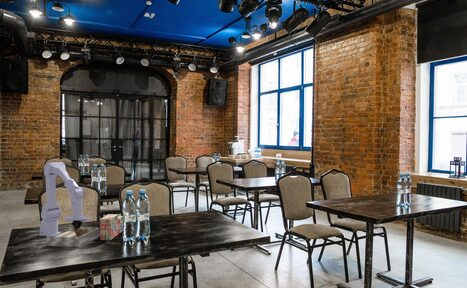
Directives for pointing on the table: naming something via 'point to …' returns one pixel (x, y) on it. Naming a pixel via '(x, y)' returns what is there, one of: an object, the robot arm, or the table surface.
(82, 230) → the walnut block
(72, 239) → the board
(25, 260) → the table surface
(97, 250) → the table surface
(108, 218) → the stack of blocks
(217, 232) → the table surface
